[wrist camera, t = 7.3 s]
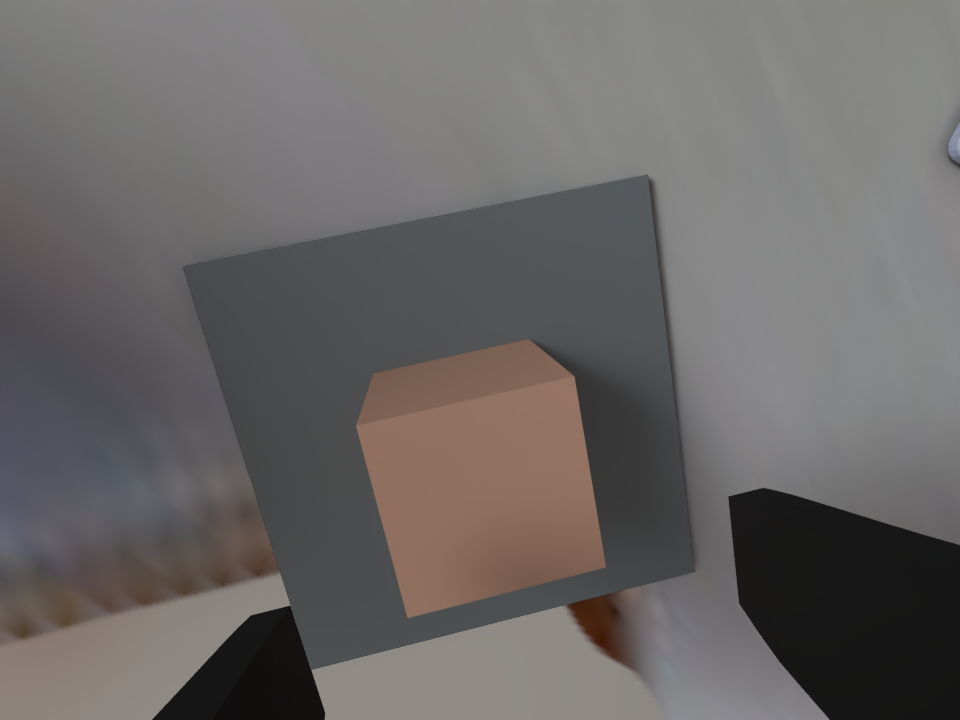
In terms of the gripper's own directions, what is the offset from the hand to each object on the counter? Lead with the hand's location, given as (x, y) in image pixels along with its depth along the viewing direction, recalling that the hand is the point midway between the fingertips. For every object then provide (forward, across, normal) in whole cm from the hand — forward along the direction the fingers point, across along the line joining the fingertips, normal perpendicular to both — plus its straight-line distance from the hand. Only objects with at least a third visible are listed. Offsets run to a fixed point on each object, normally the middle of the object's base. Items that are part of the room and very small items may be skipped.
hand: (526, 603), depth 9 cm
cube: (+9, 0, 0) cm, 9 cm away
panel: (+9, 0, 0) cm, 9 cm away
